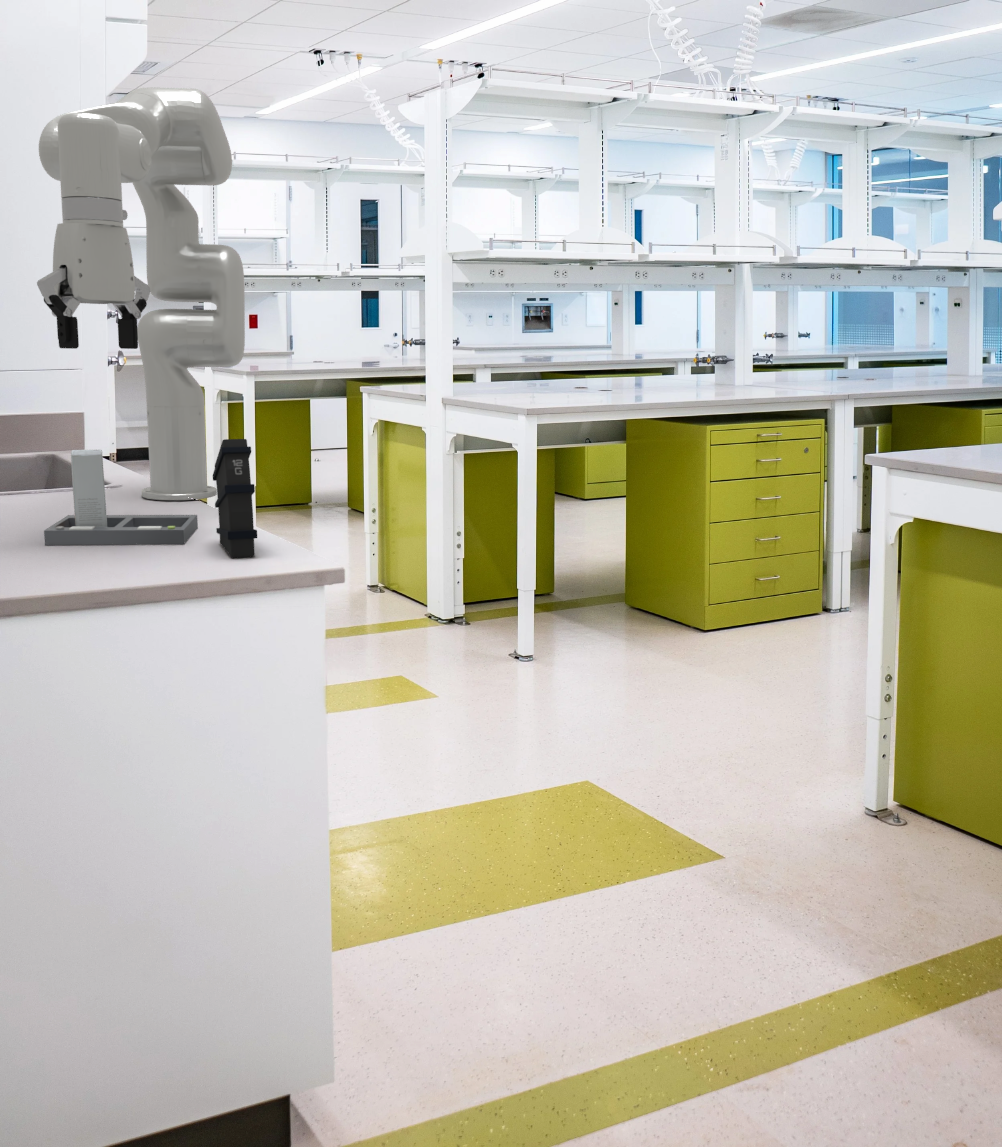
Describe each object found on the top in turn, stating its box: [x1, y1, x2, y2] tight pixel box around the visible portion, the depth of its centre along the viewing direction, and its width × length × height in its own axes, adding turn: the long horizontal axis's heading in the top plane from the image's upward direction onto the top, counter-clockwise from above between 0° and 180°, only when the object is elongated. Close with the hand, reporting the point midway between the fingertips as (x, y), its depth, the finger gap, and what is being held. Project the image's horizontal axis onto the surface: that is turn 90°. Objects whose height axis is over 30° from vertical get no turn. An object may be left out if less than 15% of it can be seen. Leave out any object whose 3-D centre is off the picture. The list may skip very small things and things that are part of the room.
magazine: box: [212, 438, 258, 559], centre depth 158 cm, size 4×13×15 cm, turn 21°
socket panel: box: [43, 514, 199, 546], centre depth 168 cm, size 13×18×2 cm
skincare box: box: [70, 449, 108, 527], centre depth 166 cm, size 6×4×12 cm
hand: (99, 348), depth 158 cm, fingers open, 9 cm apart
